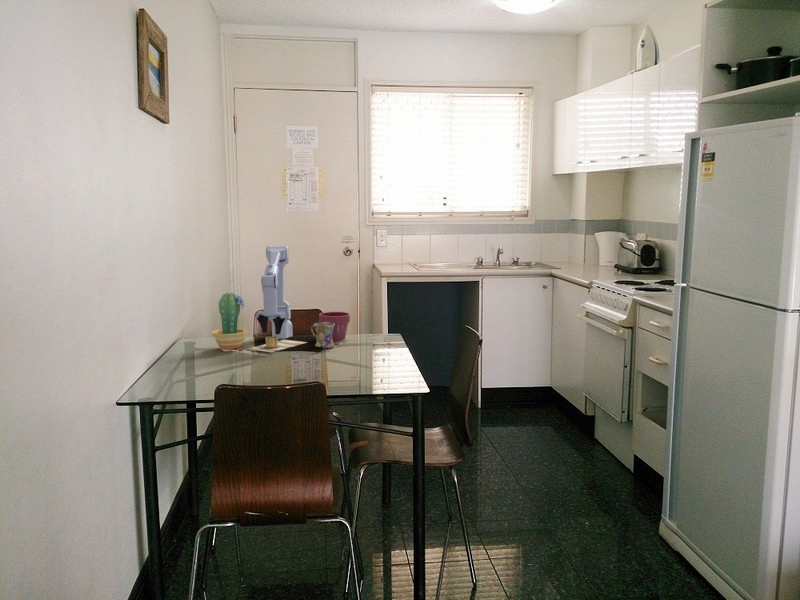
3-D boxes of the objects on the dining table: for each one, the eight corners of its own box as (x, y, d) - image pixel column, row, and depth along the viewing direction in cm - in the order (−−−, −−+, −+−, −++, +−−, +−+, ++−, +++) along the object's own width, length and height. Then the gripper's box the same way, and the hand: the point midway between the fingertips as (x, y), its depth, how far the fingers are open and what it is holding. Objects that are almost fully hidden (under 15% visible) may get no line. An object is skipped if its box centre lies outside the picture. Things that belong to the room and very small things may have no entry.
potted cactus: (232, 354, 289) (230, 295, 285) (204, 351, 295) (201, 294, 292) (255, 347, 303) (253, 291, 299) (228, 344, 309) (225, 290, 306)
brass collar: (271, 345, 300) (271, 336, 300) (280, 346, 298) (279, 337, 297) (263, 347, 296) (263, 338, 295) (272, 348, 293) (271, 339, 293)
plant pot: (356, 339, 318) (355, 312, 316) (338, 345, 306) (337, 317, 304) (332, 337, 325) (331, 310, 324) (313, 342, 313) (312, 314, 312)
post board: (284, 342, 314) (283, 330, 313) (307, 344, 307) (307, 333, 306) (247, 351, 294) (246, 339, 293) (271, 354, 286) (271, 342, 286)
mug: (339, 346, 302) (338, 323, 301) (326, 350, 294) (326, 326, 293) (318, 344, 308) (317, 321, 307) (305, 347, 300) (304, 324, 299)
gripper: (251, 302, 294) (252, 333, 296) (276, 304, 287) (277, 336, 289) (262, 300, 300) (263, 330, 302) (287, 302, 293) (288, 333, 295)
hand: (271, 333), depth 296 cm, fingers open, 7 cm apart
